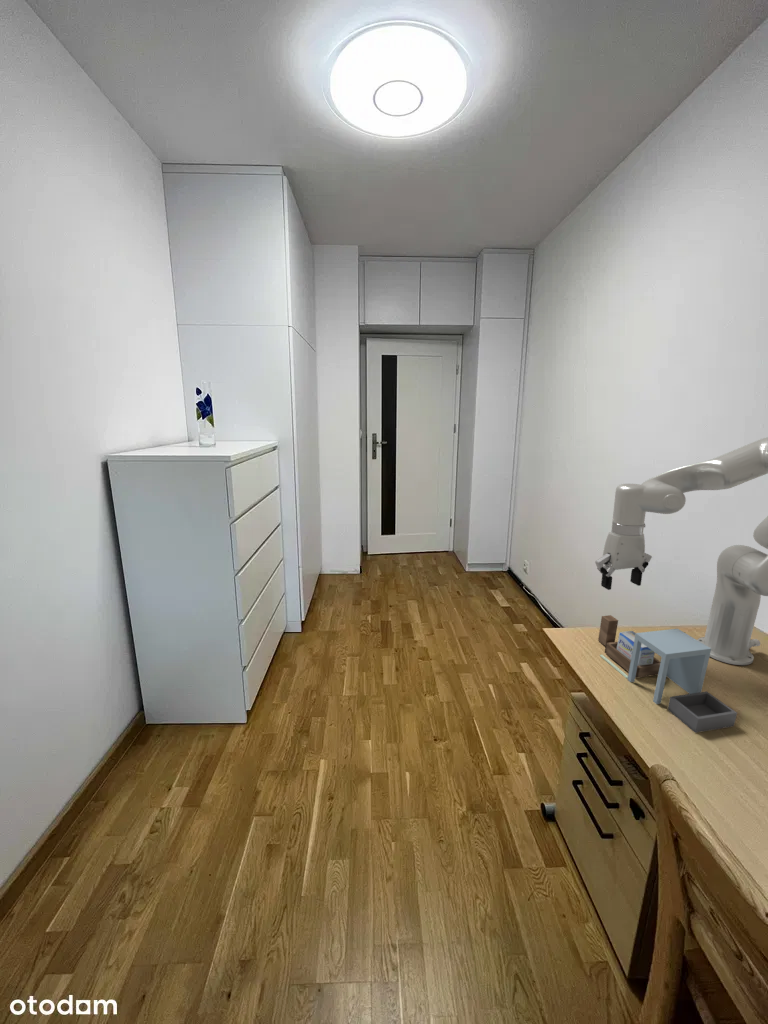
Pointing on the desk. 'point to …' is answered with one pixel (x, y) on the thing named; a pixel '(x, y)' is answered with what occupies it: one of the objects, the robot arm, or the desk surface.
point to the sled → (608, 639)
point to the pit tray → (702, 711)
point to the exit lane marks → (614, 666)
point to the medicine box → (627, 645)
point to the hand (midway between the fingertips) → (620, 585)
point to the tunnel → (673, 659)
